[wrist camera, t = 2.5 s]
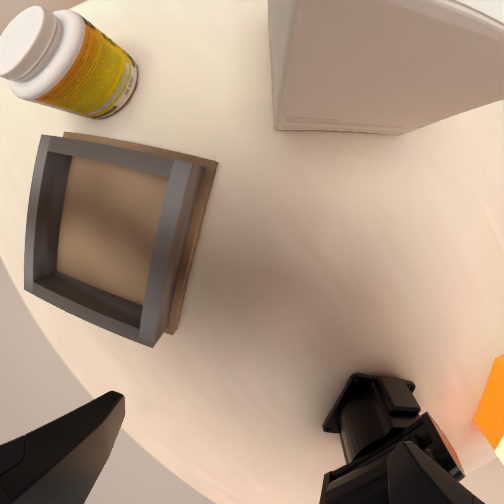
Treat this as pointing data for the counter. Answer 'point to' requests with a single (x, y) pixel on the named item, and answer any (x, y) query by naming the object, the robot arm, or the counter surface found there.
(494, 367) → the orange juice
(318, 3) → the supplement box
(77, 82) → the supplement bottle
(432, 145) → the counter surface
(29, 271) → the tray
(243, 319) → the counter surface
